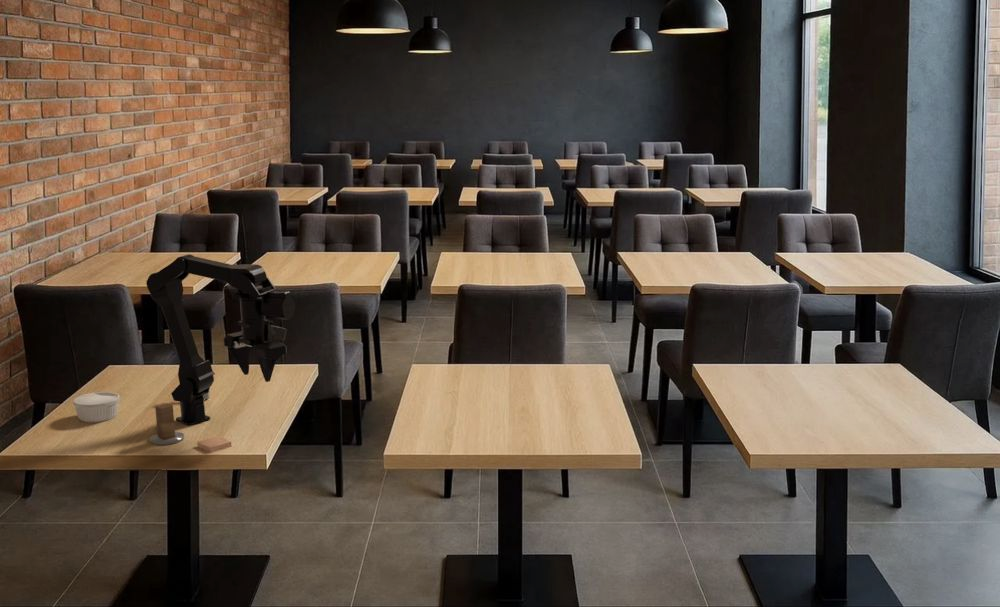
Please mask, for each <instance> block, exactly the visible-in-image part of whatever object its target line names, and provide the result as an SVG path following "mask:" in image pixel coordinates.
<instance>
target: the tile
mask: <svg viewBox="0 0 1000 607" xmlns="http://www.w3.org/2000/svg"><path fill="white" fill-rule="evenodd" d="M196 445H197V447H198V448H200V449H202V450H205V451H207V452H208V453H214V452H217V451H220V450H223V449H227V448H230V447H232V441H231V440H228V439H226V438H224V437H221V436H220V435H216V436H211V437H210V438H206V439H202V440H198V441H197V444H196Z"/></svg>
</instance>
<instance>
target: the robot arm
mask: <svg viewBox="0 0 1000 607" xmlns="http://www.w3.org/2000/svg"><path fill="white" fill-rule="evenodd" d="M190 274H191V275H194V276H200V277H203V278H207V279H213V280H216V281H221V282H224V283H226V284H228V285H229V286H230V287H232V288H233V289H236V292H235V293H234V294H232V296H231V299H232V300H239V304H240V307H239V308H240V320H239V321H237V326H238V327H239V326H240V327H241V331H237V332H233V333H228V334H226V335H225V336H224V338H223V342H224V343H223V344H224V347H227V350H228V351H229V352H230V353H231V356H233V358H234V359H235V361H236V363H237V365H238V366H239V368H240V370H241V371H242V373H243V375H246V376H247V375H249V373H250V372H249V371H250V353H251V351H252V349H256V353H257V355H258V356H257V358H256V359H257V361H258V365H259V367H260V370H261V372H262V373H261V374H262V376H263V379H264V381H265V382H266V383H268V382H271V379H272V376H273V371H274V369H275V366H276V363H277V361H278V360H279V359H280V358H282V357H284V355H287V353H288V351H287V345H286V344H285V343H284V342H285V340H286V336H287V335H286V334H287V331H288V329H287V328H284V327H281V326H276V325H274V322H273V321H272V320H274V319H275V320H284V321H285V320H286V321H287V320H288V321H290V320H291V319H292V318H293V317H294V315H295V312H296V303H295V302H294V299H293V297H291V296H290V291H288V290H287V291H286V290H285V291H277V288H276V287H275V285H274V284H273V283H272V281H271V279H270V278H269V277H268V275H267V273H266V271H265V269H264V267H263V266H261V265H260V264H254V263H253V264H252V263H251V264H250V263H248V264H247V263H246V264H245V263H244V264H229V263H227V262H223V261H221V262H220V261H216V260H212V259H208V258H203V257H199V256H195V255H193V254H184V255H181V256H178V257H177V258H175V260H173V261H172V262H171V263H169V264H167V265H166V266H165V267H163V268H162V269H160V270H159V271H156V272H152V273H150V275H149V276H148V277H147V280H146V282H145V284H146V288H147V290H148V293H149V294H150V296H151V298H152V300H153V301H154V302H155V303H156V304H157V305H158V306H159V307H160V308H161V309H162V312H163V314H164V318H165V321H166V324H167V328H168V330H169V334H170V336H171V339H172V342H173V346H174V348H175V352H176V354H177V357H178V361H179V366H178V370H177V371H178V372H177V376H178V377H177V378H178V381H179V384H178V385H177V386H176V387H175V388H174V390H173V391H172V392H171V393H170V394H171V397H172V399H173V401H174V402H179V404H180V405H179V406H180V416H179V417H176V418H175V420H176V421H178V422H180V423H183V424H185V425H188V426H190V425H196V424H198V423H202V422H205V421H208V420H211V416H210V415H209V416H208V415H206V410H205V409H206V407H205V400H204V398H203V395H204V394H206V393H209V392H210V388H211V387H212V385H213V383H214V382H215V378H214V376H215V374H216V373H215V372H214V370H213V368H212V362H211V361H210V359H207V360H204V358H202V357H201V356H200V355H199V352H198V348H197V345H196V342H195V339H194V336H193V333H192V330H191V327H190V324H189V321H188V317H187V314H186V311H185V309H184V305H183V302H182V300H183V293H184V285H183V281H185V279H187V277H189V276H190ZM269 319H271V320H269ZM273 339H274V340H273ZM275 339H276V340H275ZM277 340H280V341H282V342H280V341H277Z"/></svg>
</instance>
